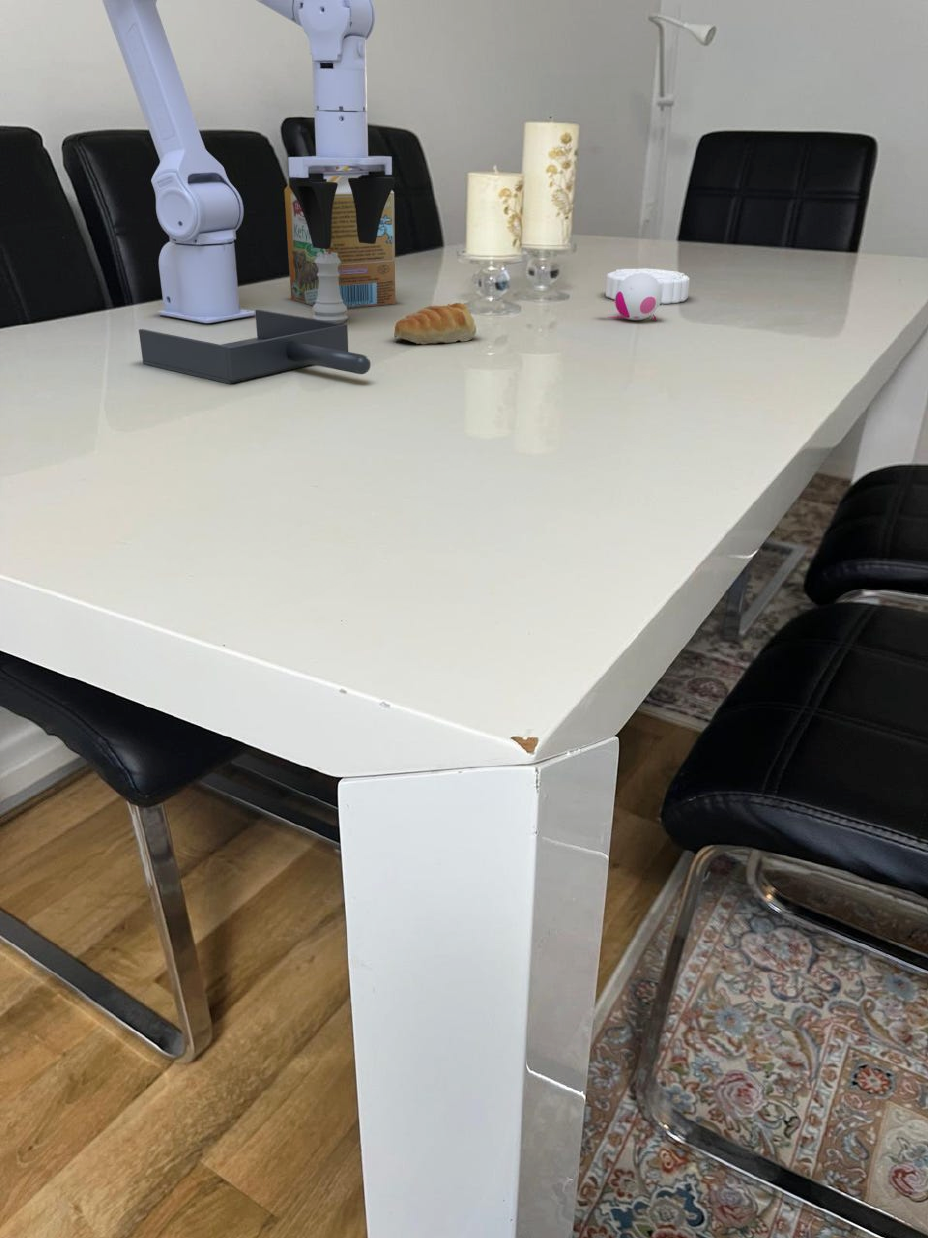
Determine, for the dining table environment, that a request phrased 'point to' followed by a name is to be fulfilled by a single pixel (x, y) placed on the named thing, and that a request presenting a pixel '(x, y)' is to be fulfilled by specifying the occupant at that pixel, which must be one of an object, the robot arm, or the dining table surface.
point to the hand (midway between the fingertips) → (345, 245)
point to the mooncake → (670, 281)
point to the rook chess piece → (329, 290)
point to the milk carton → (343, 251)
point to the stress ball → (638, 297)
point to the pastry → (437, 325)
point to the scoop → (257, 350)
